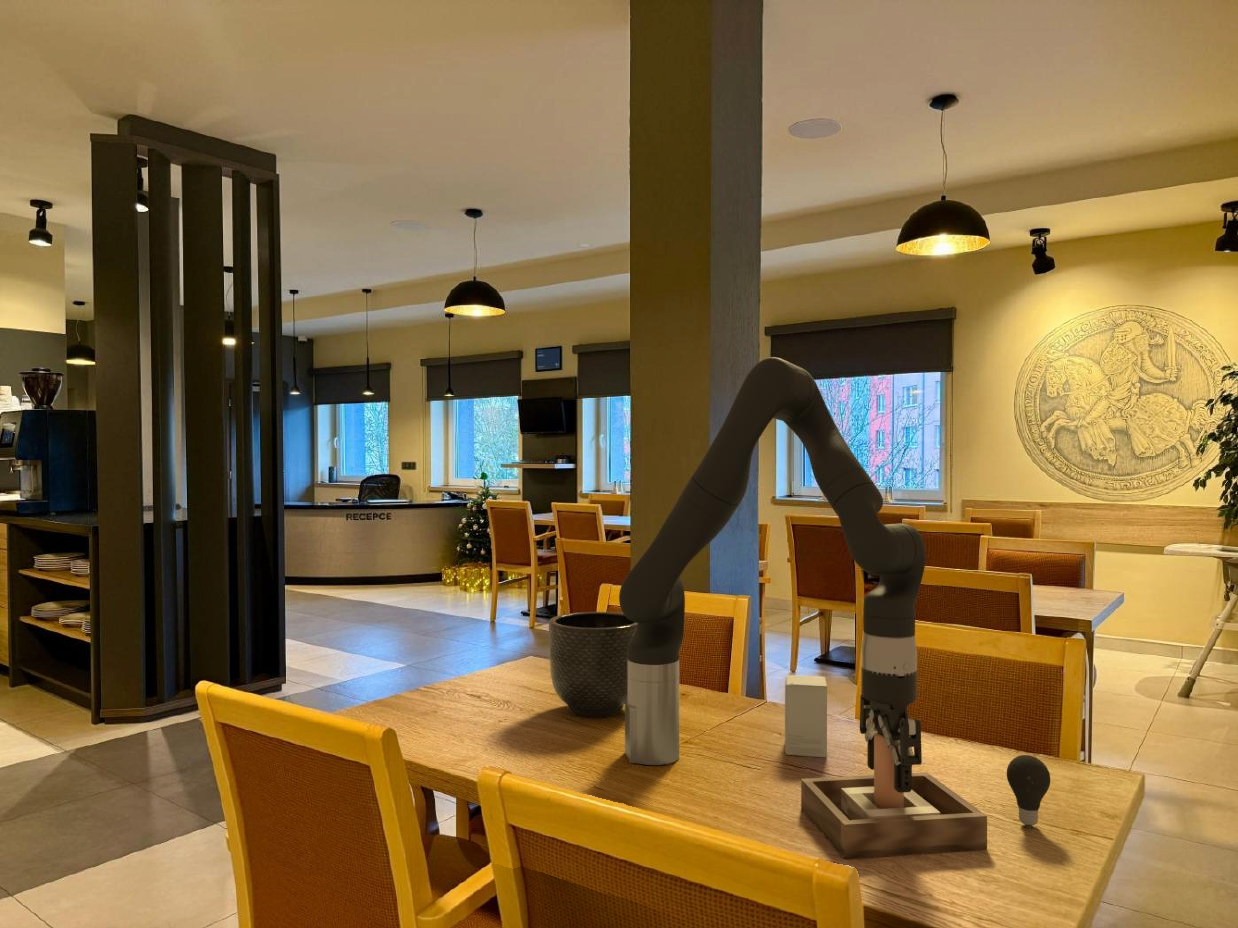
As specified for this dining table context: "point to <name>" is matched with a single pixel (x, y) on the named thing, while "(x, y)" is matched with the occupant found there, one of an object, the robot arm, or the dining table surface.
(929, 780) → the box
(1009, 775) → the light bulb
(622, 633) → the planter
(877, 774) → the peg
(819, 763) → the dining table surface
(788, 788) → the dining table surface
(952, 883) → the dining table surface
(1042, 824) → the dining table surface
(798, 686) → the supplement box
